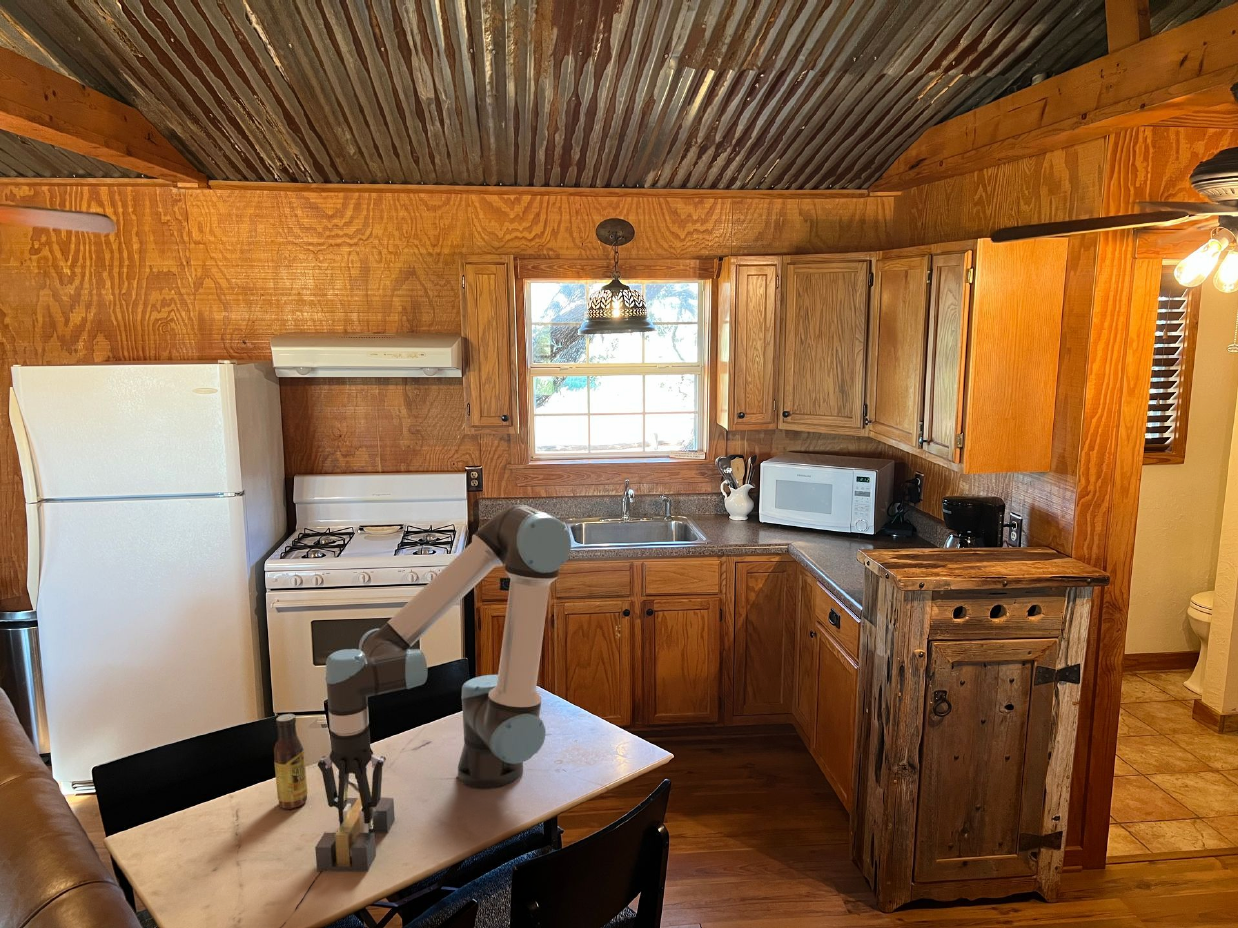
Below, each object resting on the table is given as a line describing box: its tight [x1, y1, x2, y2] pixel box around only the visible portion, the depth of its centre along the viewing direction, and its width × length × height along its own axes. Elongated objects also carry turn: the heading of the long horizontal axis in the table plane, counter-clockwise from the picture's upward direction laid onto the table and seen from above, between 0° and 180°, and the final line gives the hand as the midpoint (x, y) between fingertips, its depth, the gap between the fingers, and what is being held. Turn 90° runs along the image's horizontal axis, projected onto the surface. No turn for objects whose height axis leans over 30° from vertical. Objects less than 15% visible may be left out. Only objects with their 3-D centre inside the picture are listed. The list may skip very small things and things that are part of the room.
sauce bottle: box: [273, 713, 308, 810], centre depth 195 cm, size 7×6×20 cm
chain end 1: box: [339, 797, 396, 834], centre depth 186 cm, size 10×5×5 cm, turn 88°
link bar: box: [335, 791, 374, 864], centre depth 180 cm, size 2×16×6 cm, turn 178°
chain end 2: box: [314, 832, 377, 872], centre depth 174 cm, size 10×5×5 cm, turn 88°
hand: (356, 836), depth 180 cm, fingers closed on link bar, 2 cm apart
